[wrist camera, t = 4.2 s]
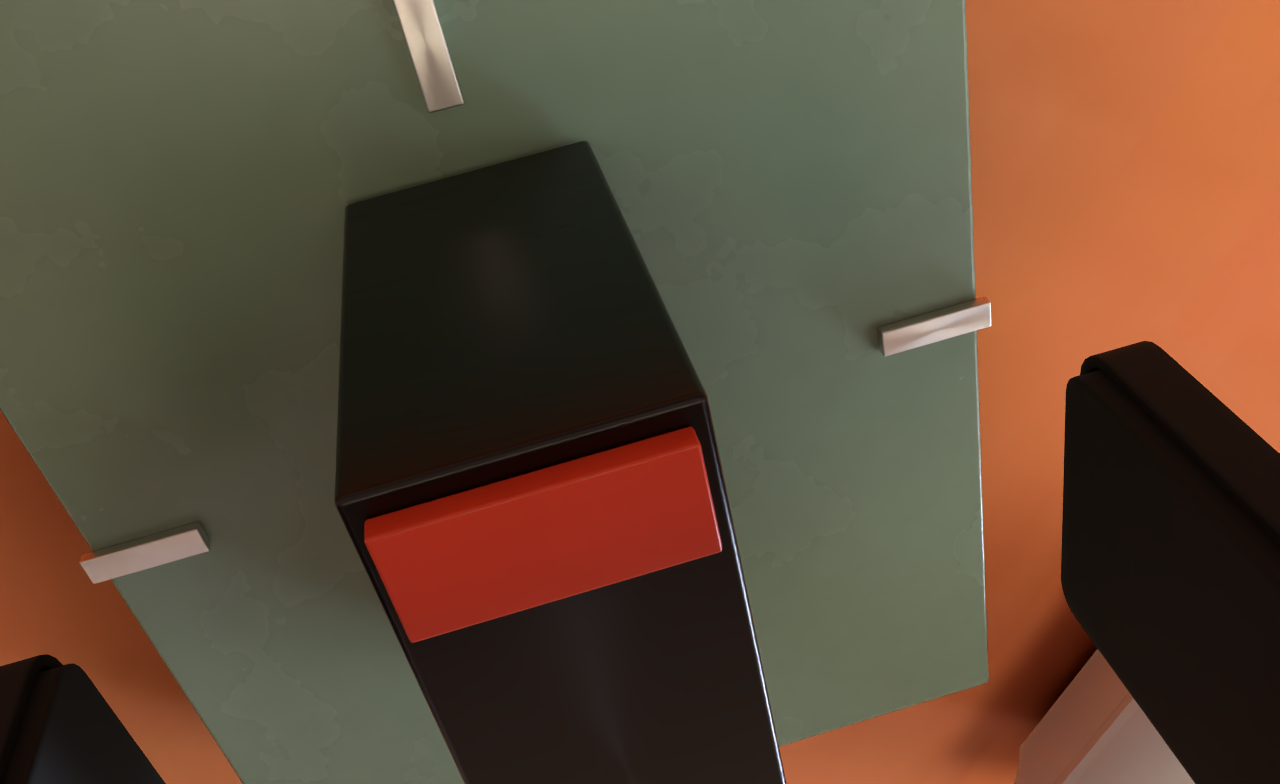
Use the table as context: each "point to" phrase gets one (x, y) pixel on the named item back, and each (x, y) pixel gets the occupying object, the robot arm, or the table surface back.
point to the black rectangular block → (543, 486)
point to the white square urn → (1097, 737)
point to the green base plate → (448, 146)
